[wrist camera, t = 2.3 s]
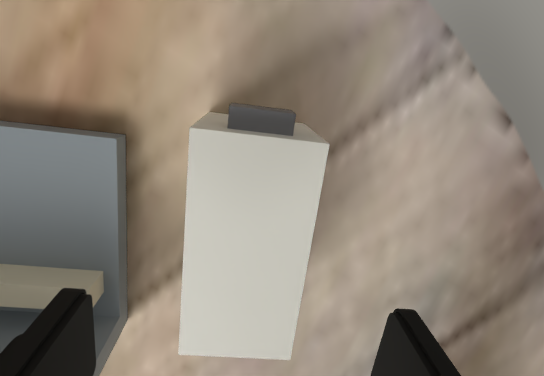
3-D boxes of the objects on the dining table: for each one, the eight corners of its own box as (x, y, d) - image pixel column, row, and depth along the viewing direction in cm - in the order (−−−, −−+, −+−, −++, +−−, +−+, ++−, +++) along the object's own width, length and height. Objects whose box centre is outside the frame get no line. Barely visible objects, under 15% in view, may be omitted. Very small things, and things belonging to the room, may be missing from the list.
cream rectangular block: (306, 107, 21) (333, 120, 14) (279, 284, 25) (290, 360, 18) (210, 95, 20) (190, 103, 13) (198, 278, 24) (178, 354, 17)
